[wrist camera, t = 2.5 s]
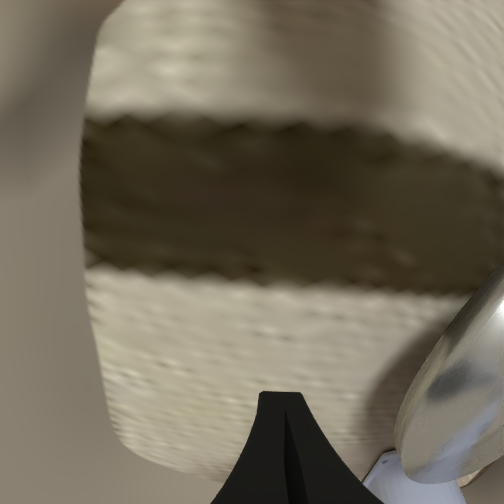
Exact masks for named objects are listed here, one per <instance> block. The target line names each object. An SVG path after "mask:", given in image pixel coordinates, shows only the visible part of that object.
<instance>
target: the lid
mask: <svg viewBox="0 0 504 504" xmlns="http://www.w3.org/2000/svg"><path fill="white" fill-rule="evenodd" d="M394 445H395V448H396V451H397V453H398V456H399V459H400V461H401V464H402V467H403V469H404V472H405V474H406V476H407V477H408V478H409V479H410V480H412V481H414V482H417V483H421V484H438V483H444V482H448V481H452V480H455V479H458V478H461V477H464V476H466V475H469V474H471V473H473V472H475V471H477V470H479V469H481V468H483V467H485V466H487V465H488V464H490V463H492V462H493V461H495V460H496V459H498V458H499V457H501V456H502V455H504V262H503V263H502V264H501V265H500V266H499V267H497V268H496V269H495V270H494V271H493V273H492V274H491V275H490V276H489V277H488V278H487V279H486V281H485V282H484V283H483V284H482V285H481V286H480V287H479V288H478V289H477V291H476V292H475V293H474V294H473V296H472V297H471V298H470V299H469V301H468V302H467V303H466V304H465V305H464V307H463V308H462V309H461V310H460V312H459V313H458V314H457V316H456V317H455V318H454V320H453V321H452V322H451V324H450V325H449V326H448V328H447V329H446V330H445V332H444V333H443V334H442V336H441V338H440V339H439V340H438V342H437V343H436V345H435V346H434V348H433V349H432V351H431V352H430V353H429V355H428V357H427V358H426V360H425V362H424V363H423V365H422V366H421V368H420V370H419V371H418V373H417V374H416V376H415V378H414V380H413V382H412V384H411V386H410V388H409V389H408V391H407V393H406V395H405V398H404V400H403V402H402V405H401V407H400V409H399V412H398V416H397V419H396V422H395V428H394Z"/></svg>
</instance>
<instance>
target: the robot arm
mask: <svg viewBox="0 0 504 504" xmlns="http://www.w3.org/2000/svg"><path fill="white" fill-rule="evenodd" d="M211 504H466V502H465V499H464V497H463V495H462V492H461V490H460V488H459V486H458V483H457V481H456V479H455V480H452V481H448V482H444V483H438V484H421V483H417V482H414V481H412V480H410V479H409V478H408V477H407V476H406V474H405V472H404V469H403V467H402V464H401V461H400V459H399V456H398V453H397V451H396V450H395V451H389V452H386V453H384V454H382V455H381V457H380V458H379V460H378V461H377V463H376V464H375V466H374V467H373V469H372V470H371V471H370V473H369V474H368V476H367V477H366V478H365V480H364V481H363V483H361V482H360V480H359V479H358V478H357V477H356V476H355V475H354V474H353V473H352V472H351V471H350V469H349V468H348V467H347V466H346V465H345V463H344V462H343V461H342V459H341V458H340V457H339V455H338V454H337V453H336V451H335V450H334V449H333V447H332V446H331V444H330V443H329V441H328V440H327V438H326V437H325V435H324V434H323V432H322V431H321V429H320V427H319V426H318V424H317V422H316V420H315V419H314V417H313V415H312V413H311V411H310V409H309V407H308V405H307V403H306V401H305V399H304V397H303V395H302V394H301V393H300V392H272V391H262V392H261V393H259V399H258V407H257V414H256V417H255V421H254V424H253V427H252V429H251V432H250V435H249V437H248V440H247V442H246V445H245V447H244V449H243V451H242V453H241V455H240V457H239V459H238V461H237V463H236V465H235V467H234V469H233V470H232V472H231V474H230V475H229V477H228V479H227V480H226V482H225V484H224V485H223V487H222V488H221V490H220V491H219V493H218V494H217V495H216V497H215V498H214V500H213V501H212V502H211Z"/></svg>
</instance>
